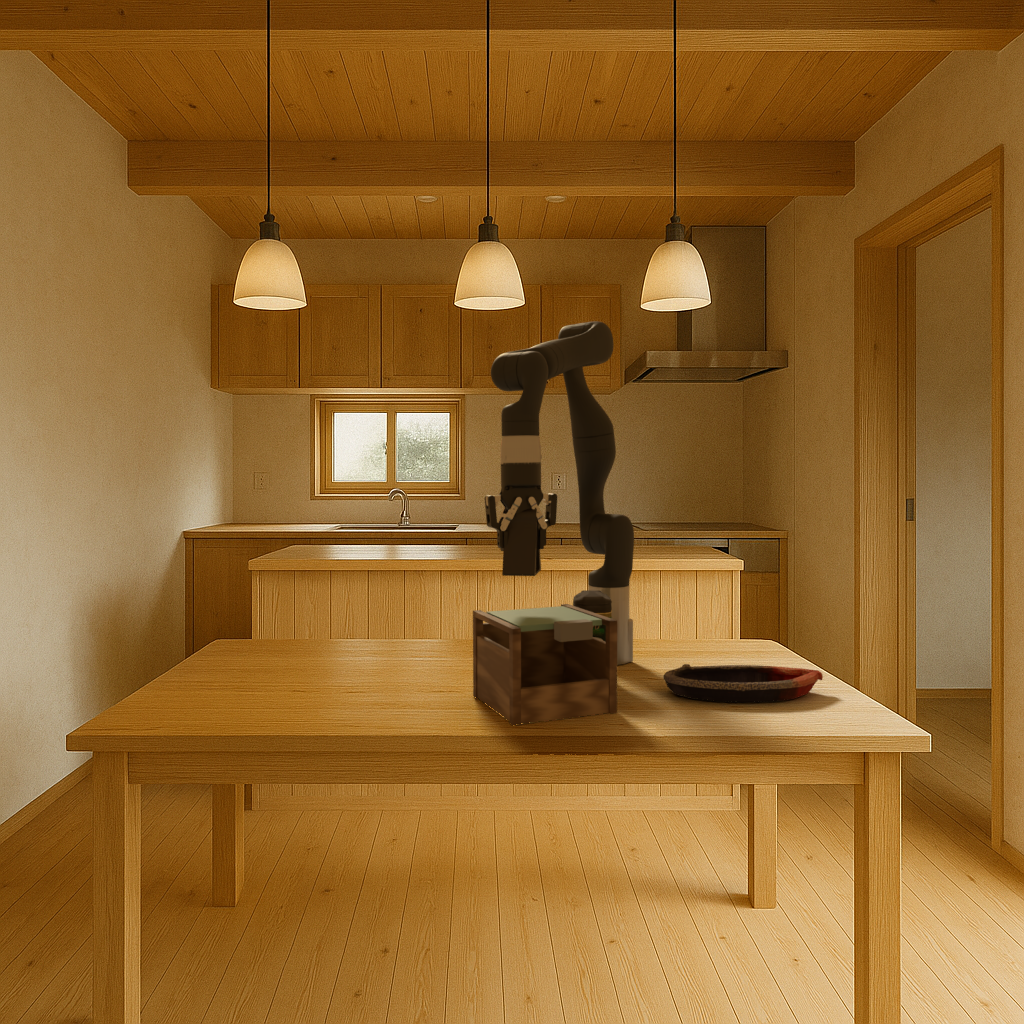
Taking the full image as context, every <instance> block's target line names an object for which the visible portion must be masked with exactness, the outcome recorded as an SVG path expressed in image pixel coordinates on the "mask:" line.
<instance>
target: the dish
mask: <svg viewBox="0 0 1024 1024" xmlns="http://www.w3.org/2000/svg"><path fill="white" fill-rule="evenodd" d="M662 676H663V681H664V682H665V683H666V686H667V688H668V689H669V690H670V691H671V692H672V694H675V695H676V696H681V697H685V698H687V699H692V700H699V701H706V702H715V703H716V702H717V703H745V704H746V703H747V704H748V703H774V702H783V701H784V702H785V701H791V700H793V699H796V698H799V697H802V696H805V695H808V694H809V693H810V691H812V689H813V687H814V685H815V684H816V683H817V682H818V680H820V681H822V680H823V677H824V676H823V673H822V672H821V671H820V670H817V669H816V670H815V669H809V668H802V667H800V668H799V667H788V666H787V667H786V666H777V665H756V664H754V665H753V664H751V665H748V664H732V665H731V664H730V665H729V664H728V665H726V664H725V665H724V664H723V665H721V664H720V665H700V666H698V665H697V666H691V665H690V664H688V663H684V664H682V665H681V666H680V667H678V668H674V669H671V670H668V671H666V672H665V673H663V675H662Z"/></svg>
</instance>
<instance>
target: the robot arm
mask: <svg viewBox="0 0 1024 1024" xmlns="http://www.w3.org/2000/svg"><path fill="white" fill-rule="evenodd" d="M557 337H558V338H557V339H552V340H549V341H544V342H541V343H539V344H536V345H533V346H532V347H529V348H525V349H524V348H523V349H518V350H513V351H507V352H504V353H501V354H500V355H498V356H497V357H496V358H495V359H494V361H493V363H492V364H491V368H490V377H491V381H492V382H493V384H494V386H495V387H497V389H499V390H501V391H504V392H521V391H522V393H521V396H520V398H519V400H517V401H515V402H514V403H510V404H507V405H505V406H503V408H502V409H501V415H500V416H501V417H500V418H501V442H500V443H501V444H500V489H501V490H500V491H499V494H495V495H494V494H493V495H489V494H486V495H485V496H484V506H485V507H484V509H485V518H486V519H485V520H486V526H487V527H488V528H492V529H493V530H495V531H496V541H497V542H496V546H497V548H498V549H500V551H501V552H503V550H504V549H505V547H506V545H507V544H508V531H506V528H507V526H508V524H509V522H510V521H511V520H512V519H513V517H514V515H515V516H517V515H518V513H520V512H522V511H524V510H526V509H537V515H536V518H537V521H538V525H539V547H538V549H540V550H544V547H545V546H546V545H547V530H548V528H549V527H552V526H555V525H556V523H557V509H558V507H557V506H558V495H557V494H556V493H552V492H551V493H550V492H549V493H543V491H542V449H541V448H542V447H541V440H540V412H541V407H542V403H543V397H544V394H545V390H546V387H547V383H548V380H550V379H553V378H556V377H557V376H559V375H562V376H563V381H564V386H565V390H566V391H565V392H566V395H567V402H568V410H569V417H570V425H571V426H570V427H571V437H572V447H573V454H574V459H575V466H576V477H577V486H578V487H577V488H578V505H579V507H578V509H579V512H578V513H579V532H580V534H579V535H580V541H581V542H582V546H583V547H584V549H585V550H586V551H587V552H588V553H590V554H595V555H604V561H603V564H602V565H601V567H599V568H598V569H594V570H591V571H590V572H589V574H588V577H587V578H588V579H587V581H588V582H587V590H598V591H601V592H602V593H604V594H606V595H608V596H609V597H610V599H611V601H612V603H611V606H612V619H614V620H617V666H618V665H620V666H621V665H625V664H628V663H632V662H634V620H633V618H630V579H631V576H632V572H633V569H634V568H633V564H634V549H635V547H634V545H635V531H634V526H633V522H632V520H631V519H630V518H629V517H628V516H627V515H625V514H620V513H606V510H605V502H604V494H605V493H604V492H605V486H606V483H607V480H608V477H609V475H610V473H611V471H612V468H613V465H614V463H615V460H616V456H617V455H616V453H617V451H616V450H617V449H616V448H617V447H616V440H615V439H616V438H615V430H614V424H613V422H612V420H611V419H610V417H609V415H608V414H607V412H606V411H605V410H604V408H603V406H601V404H600V403H599V402H598V400H597V399H596V398H595V397H594V395H593V394H592V392H591V390H590V389H589V386H588V384H587V380H586V377H585V373H584V368H583V367H590V366H597V365H602V364H604V363H606V362H607V361H609V360H610V358H611V357H612V354H613V352H614V336H613V334H612V331H611V329H610V327H609V325H608V324H606V323H604V322H603V321H598V320H597V321H596V320H595V321H588V322H580V323H575V324H568V325H564V326H563V327H562V328H561V329H560V330H559V332H558V335H557ZM542 501H543V504H544V505H545V517H544V515H543V513H542V511H541V509H540V507H539V506H540V504H541V502H542ZM499 502H500V503H501V504H502V505H503V509H502V511H501V512H500V515H499V519H498V516H497V515H498V514H497V507H498V505H499ZM505 509H506V510H507V511H508V513H507V514H505Z"/></svg>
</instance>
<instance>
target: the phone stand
mask: <svg viewBox="0 0 1024 1024" xmlns="http://www.w3.org/2000/svg"><path fill="white" fill-rule="evenodd" d="M507 513H508V511H507V510H506V509H505V514H507ZM536 515H537V509H526V510H524V511H522V512H520V513H518V515H517V516H515V515H514V517H513V519H512V520H511V521H510V522H509V524H508V526H507V528H506V531H508V544H507V545H506V547H505V549H504V550H503V551H502V553H503V554H502V576H505V577H506V576H508V577H520V576H522V577H536V576H537V575H538V574H539V573H540V571H542V564H541V561H542V560H541V559H542V558H541V549H538V547H539V525H538V521H537V518H536Z"/></svg>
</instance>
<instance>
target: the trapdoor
mask: <svg viewBox="0 0 1024 1024" xmlns="http://www.w3.org/2000/svg"><path fill="white" fill-rule="evenodd" d="M485 613H488V614H490V615H492V616H494V617H497V618H499V619H501V620H503V621H505V622H508V623H510V624H512V625H514V626H517V627H519V628H521V632H524V631H537V630H549V629H554V639H555V640H557V641H559V642H566V641H577V640H589V639H593V626H597V625H602V619H599V618H596V617H593V616H590V615H587V614H584V613H581V612H579V611H576V610H573V609H570V608H567V607H564V606H561V605H560V606H559V605H558V606H548V607H547V606H546V607H534V608H520V609H505V610H490V611H486V612H485Z"/></svg>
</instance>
